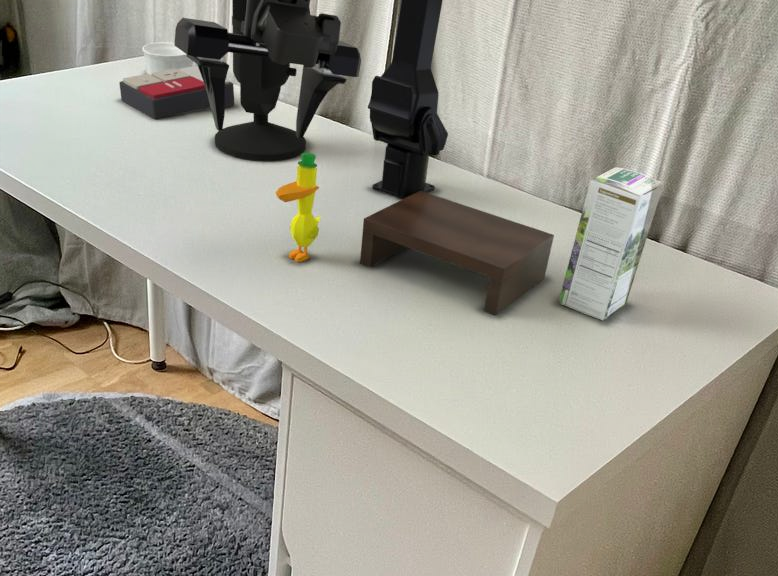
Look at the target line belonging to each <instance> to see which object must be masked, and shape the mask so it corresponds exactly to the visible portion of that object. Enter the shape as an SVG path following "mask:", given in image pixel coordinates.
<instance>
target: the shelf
mask: <svg viewBox="0 0 778 576" xmlns="http://www.w3.org/2000/svg"><path fill="white" fill-rule="evenodd" d="M554 238H555V234H552V233H549V232H546V231H544V230H541V229H538V228H534V227H532V226H529V225H526V224H522V223H519V222H516V221H514V220H510V219H508V218H504V217H501V216H498V215H495V214H493V213H489V212H486V211H484V210H480V209H478V208H474V207H471V206H468V205H465V204H462V203H459V202H456V201H453V200H450V199H447V198H444V197H441V196H438V195H436V194H432V193H430V192H429V193H426V192H423V191H419V192H417V193H415V194H413V195H411V196H409V197H407V198H405V199H400V200H398V201H396V202H394V203H393V204H391V205H388V206H386V207H384V208H382V209H380V210H378V211H376V212H374V213H372V214H370V215H368V216H366V217H364V218H363V224H362V235H361V248H360V258H359V264H361V265H363V266H367V267H369V268H371V267H374V266H375V265H377V264H378V263H381V262H383V261H384V260H386V259H388V258H389V257H392V256H393V255H395V254H396V253H398V252H400V251H402V250H403V249H405V248H408V249H411V250H414V251H416V252H419V253H422V254H424V255H427V256H430V257H433V258H436V259H439V260H441V261H444V262H446V263H449V264H452V265H455V266H458V267H459V268H463V269H466V270H468V271H471V272H474V273H477V274H479V275H482V276H484V277H487V278H489V279H488V284H487V291H486V296H485V301H484V306H483V311H484V312H485V313H488V314H491V315H493V316H497V315H498V314H499V313H501V312H502V311H503V310H505V309H506V308H507V307H508V306H510V305H511V304H513V303H514V302H515V301H516V300H518V299H519V298H521V297H522V296H524V294H526V293H527V292H529V291H530V290H531V289H533V288H535V286H537V285H539V283H541V282H542V281H543V280H545V277H546V272H547V268H548V264H549V260H550V254H551V251H552V246H553V242H554Z"/></svg>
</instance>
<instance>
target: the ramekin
mask: <svg viewBox="0 0 778 576" xmlns="http://www.w3.org/2000/svg"><path fill="white" fill-rule="evenodd" d="M174 44H175V42H173V41H172V42H171V41H156V42H151V43H150V42H149V43H147V44H145V45H143V46H142V53H143V57H144V63H145V71H146V74H150V75H151V73H154V72H159V71H164V70H170V69H178V70H179V69H181V68H186V67H192V66H193V63H194V62H193V61H192V60H191V59H189V58H188V57H187V54H186V53H184V52H183V51H181V50H180V49H179V48H177V47H176V46H174Z"/></svg>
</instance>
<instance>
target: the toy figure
mask: <svg viewBox="0 0 778 576" xmlns="http://www.w3.org/2000/svg"><path fill="white" fill-rule="evenodd" d="M300 156H301V160H300V161H298V162H297V164H298V165H297V166H296V181H294V182H293V181H292V182H290V183H287V184H284V185H282V186H280V187H278V189H277V190H276V191H275V195H276V197H277V199H279V200H280V201H282V202H284V203H288V202H293V201H297V213H296V215H295V216H294V217H293V218H292V219H291V220H290V225H289V229H290V236H291V237H292V239H293V241H294V243H296V245H297V249H292V250H291V251H290V253H289V254H288V258H289V259H291V260H293V259H294V262H296V263H301V262H304V261H307V260H308V259H310V255H309V253H308V247H310V246H311V245H312V244H313V242H314V241H315V240H316V238H318V236H319V231H320V227H319V222H320V221H321V218H322V215H320V216H316V217H315V216H314V215H313V207H314V201H315V195H316V192H317V191H318V190H319V189H320V186H318V185H317V172H318V171H317V169H318V168H317V167H318V164H317V163H315V161H316V157H317V155H316V154H314V153H311V152H303V153H302V154H300ZM302 248H303V250H302Z"/></svg>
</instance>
